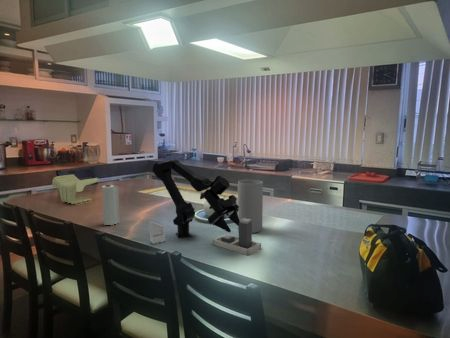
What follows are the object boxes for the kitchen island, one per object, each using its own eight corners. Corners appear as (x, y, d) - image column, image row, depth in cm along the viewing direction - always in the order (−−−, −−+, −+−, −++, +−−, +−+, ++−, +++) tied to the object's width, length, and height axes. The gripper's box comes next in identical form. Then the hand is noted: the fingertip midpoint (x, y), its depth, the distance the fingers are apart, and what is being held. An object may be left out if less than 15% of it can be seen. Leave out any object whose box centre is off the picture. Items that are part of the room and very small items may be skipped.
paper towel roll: (101, 225, 168) (99, 186, 166) (109, 222, 174) (107, 184, 171) (112, 226, 166) (110, 187, 163) (119, 223, 171) (118, 185, 169)
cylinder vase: (261, 234, 154) (262, 184, 151) (236, 232, 156) (236, 183, 153) (262, 226, 166) (263, 180, 163) (239, 225, 168) (239, 179, 165)
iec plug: (238, 249, 135) (238, 220, 133) (243, 246, 138) (243, 217, 137) (246, 251, 133) (247, 221, 131) (251, 248, 136) (251, 219, 135)
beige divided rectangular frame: (261, 248, 136) (261, 240, 136) (247, 255, 129) (248, 247, 128) (226, 238, 148) (226, 231, 148) (212, 244, 141) (212, 237, 140)
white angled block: (141, 238, 141) (149, 220, 143) (159, 244, 147) (167, 227, 149) (144, 240, 138) (152, 222, 140) (162, 247, 144) (170, 229, 146)
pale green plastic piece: (53, 201, 223) (52, 176, 221) (75, 197, 236) (73, 174, 234) (77, 207, 207) (75, 180, 204) (99, 202, 220) (97, 177, 217)
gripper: (213, 193, 130) (236, 224, 125) (235, 186, 145) (256, 213, 141) (198, 209, 135) (219, 239, 131) (221, 200, 150) (241, 227, 146)
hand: (235, 228), depth 137 cm, fingers open, 9 cm apart
